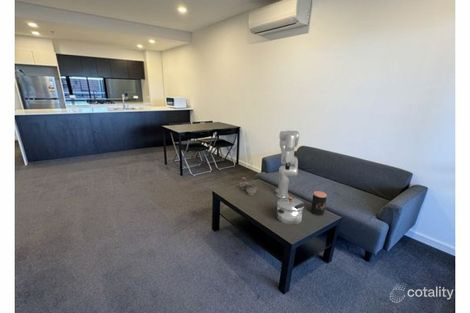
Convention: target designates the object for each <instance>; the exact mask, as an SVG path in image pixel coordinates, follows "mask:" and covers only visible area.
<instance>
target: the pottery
mask: <svg viewBox="0 0 470 313" xmlns="http://www.w3.org/2000/svg"><path fill="white" fill-rule="evenodd" d="M238 184H239V187H240V189H241V190H246V192H247V194H248V195H249V196H254V195H255V194H256V192H257V191H258V187H256V184H255V182H254V183H252V182H250V183H249V181H247V177H245V176H244V177H243V176H242V177H241V180H240V181H239V183H238Z"/></svg>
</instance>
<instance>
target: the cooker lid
mask: <svg viewBox="0 0 470 313" xmlns="http://www.w3.org/2000/svg"><path fill="white" fill-rule="evenodd" d="M277 202H278V205H279V206H280V207H281V208H283V209H286V210H290V211H299V210H302V209H303V210H304V209H305V205H306V204H305V203H304V201H302V200H300V199H299V198H295V197H293V196H290V195H289V197H286V198H278V200H277ZM278 205H277V206H278Z"/></svg>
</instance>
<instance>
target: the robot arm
mask: <svg viewBox="0 0 470 313" xmlns="http://www.w3.org/2000/svg"><path fill="white" fill-rule="evenodd" d="M299 139H300V133H299V131H298V130H283V131H282V130H281V131H280V133H279V148H280V151H281V152H280V153H281V154H280V156H281V157H280V163H281V165H280V167H278V168H279V169H278V174H279V176H278V188H276V189H275V192H276V194H275V196H276V197H277V198H278V199H281V198H286V197H289V196H290V195H289V186H290V185H289V184H290V179H289V177H296V176H298V172H299V171H298V170H299V168H298V167H299V160H298V157H297V156H295V148H296V147H298V144H299Z"/></svg>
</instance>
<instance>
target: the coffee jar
mask: <svg viewBox="0 0 470 313" xmlns="http://www.w3.org/2000/svg"><path fill="white" fill-rule="evenodd" d="M327 195H328V194H327V193H325V192H324V191H320V190H319V191H318V190H316V191H313V195H312V201H311V207H310V208H311V209H310V212H311V214H313V215H314V214H315V216H318V215H321V216H323V215H324V214H325V208H326V204H327Z"/></svg>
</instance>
